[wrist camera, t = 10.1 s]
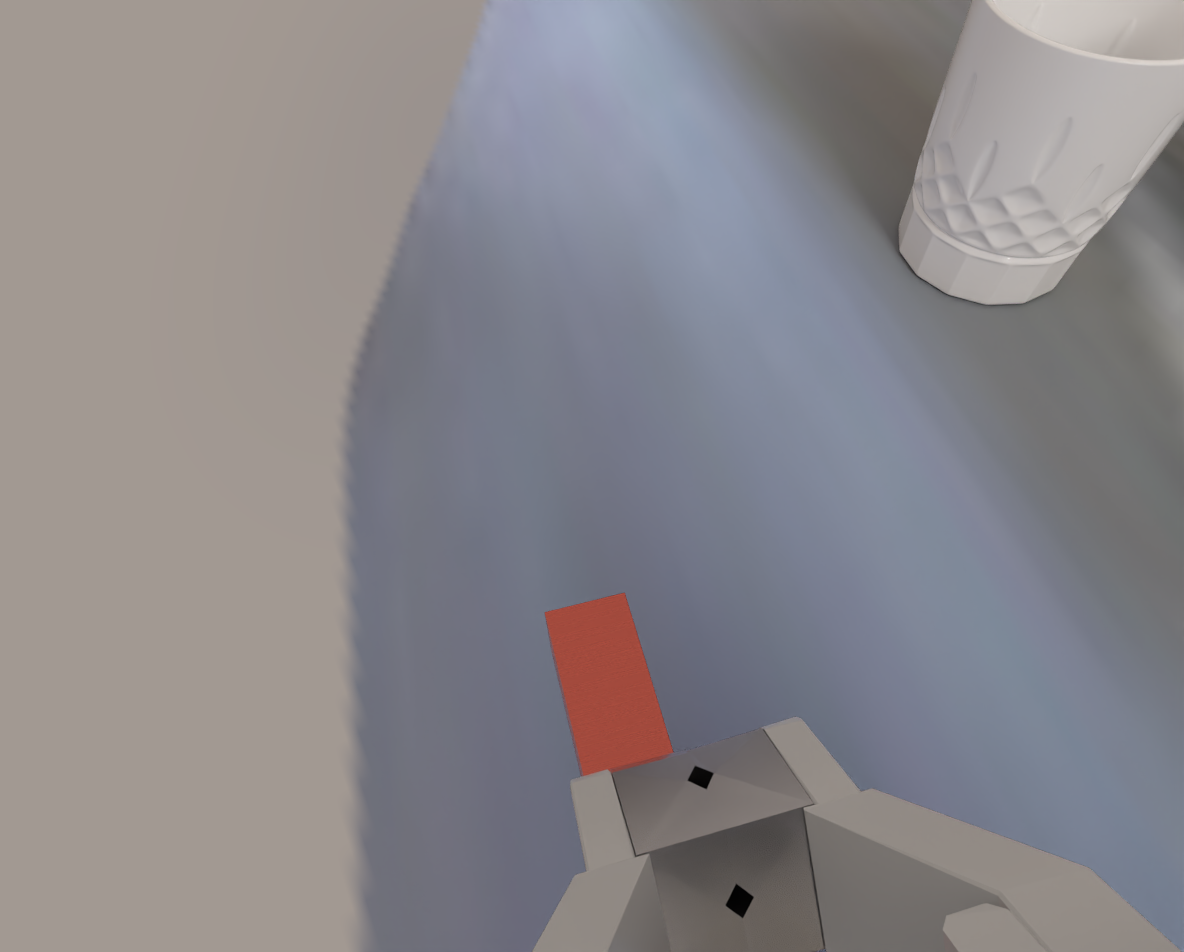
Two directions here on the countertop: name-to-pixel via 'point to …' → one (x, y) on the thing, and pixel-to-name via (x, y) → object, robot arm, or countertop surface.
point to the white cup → (1040, 139)
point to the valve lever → (606, 685)
